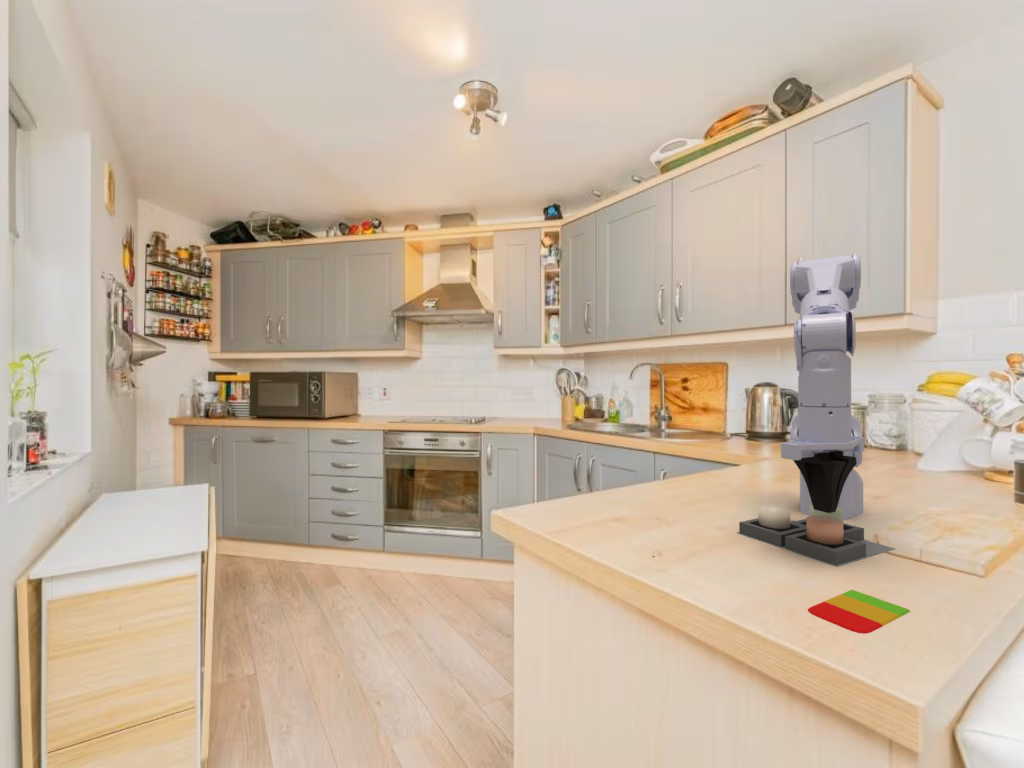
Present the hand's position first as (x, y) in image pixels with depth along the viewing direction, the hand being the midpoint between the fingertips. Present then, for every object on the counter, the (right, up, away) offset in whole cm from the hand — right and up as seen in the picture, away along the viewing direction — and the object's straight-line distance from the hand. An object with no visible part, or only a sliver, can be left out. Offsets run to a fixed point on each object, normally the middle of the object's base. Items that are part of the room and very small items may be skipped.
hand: (824, 510), depth 61 cm
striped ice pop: (-4, -8, -14) cm, 16 cm away
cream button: (-3, -4, +6) cm, 8 cm away
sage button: (+4, -4, +6) cm, 8 cm away
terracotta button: (0, -4, 0) cm, 4 cm away
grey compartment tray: (+1, -7, +5) cm, 8 cm away
